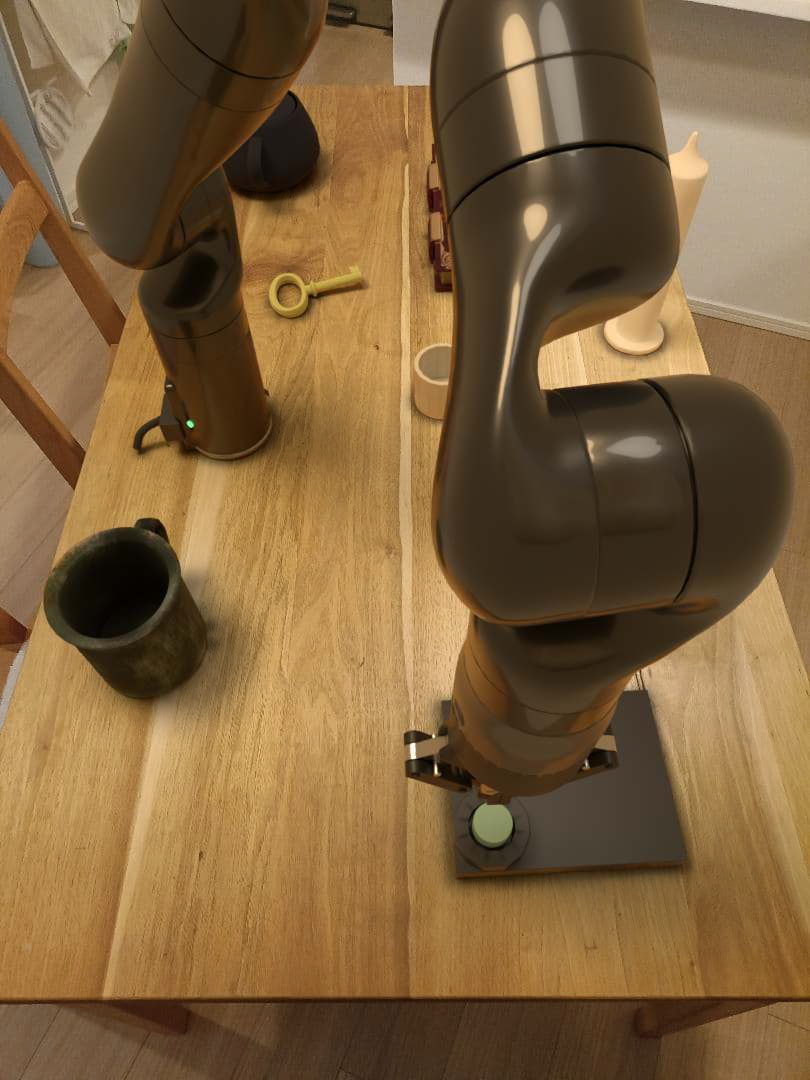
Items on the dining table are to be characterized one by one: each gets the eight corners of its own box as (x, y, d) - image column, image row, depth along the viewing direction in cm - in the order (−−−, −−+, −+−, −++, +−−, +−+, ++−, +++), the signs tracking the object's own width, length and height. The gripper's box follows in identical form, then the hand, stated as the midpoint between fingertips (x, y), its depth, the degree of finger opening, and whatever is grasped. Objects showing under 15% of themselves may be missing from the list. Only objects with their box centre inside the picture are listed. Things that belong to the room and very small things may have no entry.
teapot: (319, 219, 107) (309, 132, 96) (207, 222, 107) (185, 135, 96) (325, 121, 120) (316, 36, 110) (225, 124, 120) (208, 38, 110)
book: (592, 294, 98) (601, 261, 94) (428, 292, 98) (430, 259, 94) (567, 167, 114) (574, 134, 110) (425, 165, 114) (426, 131, 109)
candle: (661, 359, 91) (735, 156, 70) (601, 351, 92) (657, 148, 71) (663, 319, 95) (733, 115, 74) (605, 312, 96) (658, 108, 75)
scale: (454, 878, 60) (456, 870, 58) (440, 708, 68) (441, 693, 65) (680, 865, 61) (694, 856, 58) (642, 697, 68) (652, 682, 65)
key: (368, 286, 99) (367, 272, 97) (284, 323, 95) (281, 309, 94) (340, 257, 102) (339, 243, 100) (257, 291, 99) (254, 278, 97)
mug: (79, 701, 69) (22, 643, 59) (123, 562, 77) (78, 490, 67) (199, 708, 68) (161, 652, 58) (230, 568, 76) (202, 496, 66)
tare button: (473, 848, 59) (475, 844, 57) (469, 808, 60) (471, 802, 59) (512, 846, 59) (515, 841, 57) (508, 806, 60) (510, 800, 59)
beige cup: (416, 421, 86) (416, 386, 82) (412, 379, 90) (412, 344, 85) (472, 418, 87) (475, 383, 82) (467, 377, 90) (470, 341, 85)
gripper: (648, 621, 40) (583, 731, 54) (391, 631, 39) (395, 739, 54) (683, 767, 35) (602, 843, 50) (397, 780, 35) (399, 853, 50)
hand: (495, 789), depth 52 cm, fingers closed
